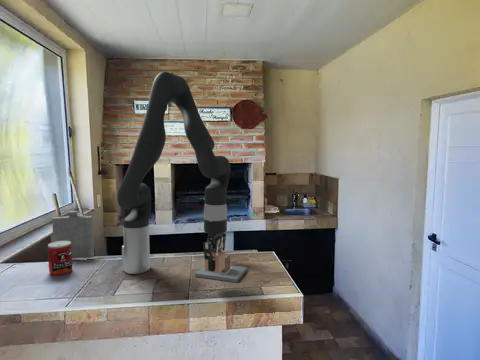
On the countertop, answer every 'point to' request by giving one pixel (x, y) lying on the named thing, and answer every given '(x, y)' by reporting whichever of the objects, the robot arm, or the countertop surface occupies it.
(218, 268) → the terracotta block
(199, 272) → the slate board
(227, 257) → the walnut block
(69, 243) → the canned food
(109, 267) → the countertop surface
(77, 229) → the hip flask
